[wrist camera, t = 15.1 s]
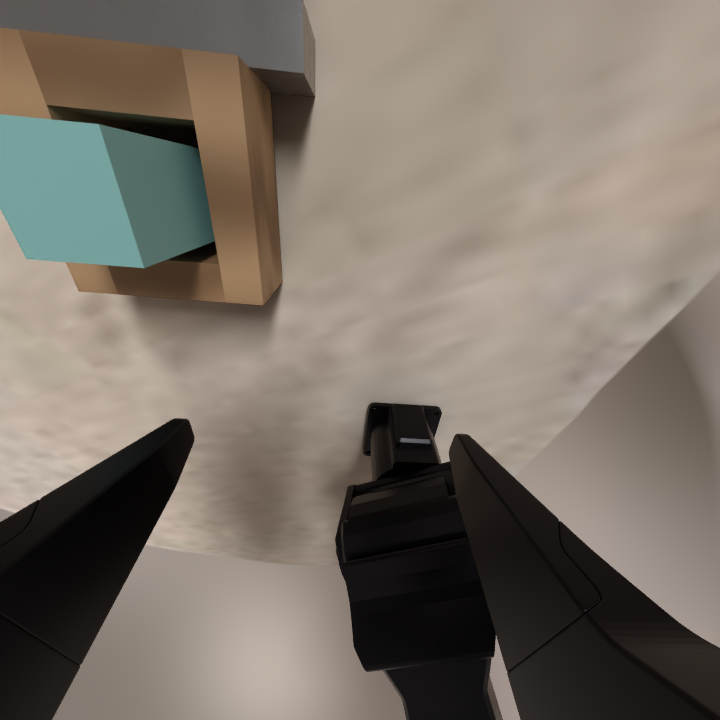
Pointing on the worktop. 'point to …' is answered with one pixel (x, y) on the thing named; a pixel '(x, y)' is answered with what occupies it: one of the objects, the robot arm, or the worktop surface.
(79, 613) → the robot arm
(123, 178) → the turquoise rectangular prism
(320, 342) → the worktop surface
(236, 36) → the backstop wall
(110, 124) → the socket block
